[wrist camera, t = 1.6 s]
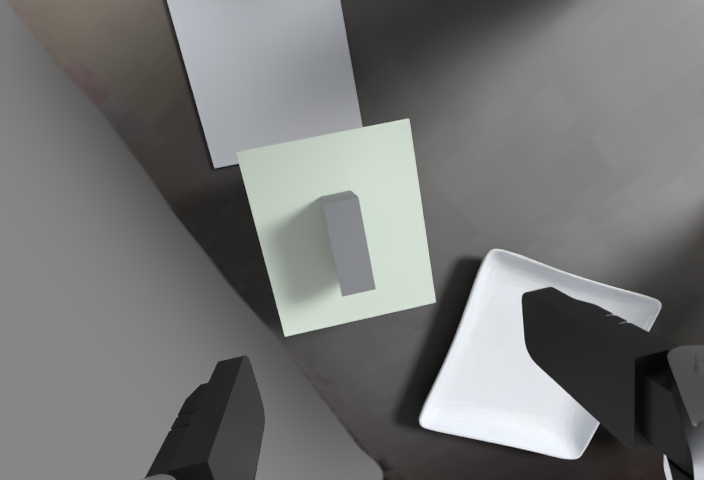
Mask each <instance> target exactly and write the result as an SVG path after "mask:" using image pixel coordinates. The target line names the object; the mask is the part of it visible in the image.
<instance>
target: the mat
mask: <svg viewBox="0 0 704 480" xmlns="http://www.w3.org/2000/svg"><path fill="white" fill-rule="evenodd" d="M167 3H168V6H169V10H170V13H171V17H172V20H173V24H174V27H175V31H176V34H177V38H178V42H179V45H180V49H181V52H182V56H183V59H184V63H185V66H186V70H187V73H188V77H189V80H190V84H191V87H192V91H193V95H194V98H195V102H196V105H197V109H198V112H199V116H200V119H201V123H202V126H203V130H204V133H205V137H206V140H207V144H208V148H209V151H210V155H211V158H212V162H213V165H214V168H219V167H224V166H229V165H235V164H239V162H238V158H237V154H236V152H239V151H244V150H249V149H254V148H259V147H265V146H270V145H275V144H280V143H285V142H290V141H295V140H301V139H306V138H311V137H316V136H321V135H326V134H331V133H336V132H342V131H347V130H352V129H357V128H362V127H363V126H362V121H361V115H360V109H359V104H358V98H357V92H356V87H355V81H354V75H353V70H352V64H351V58H350V53H349V47H348V41H347V36H346V30H345V24H344V19H343V13H342V7H341V2H340V0H167Z"/></svg>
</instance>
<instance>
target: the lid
mask: <svg viewBox="0 0 704 480" xmlns="http://www.w3.org/2000/svg"><path fill="white" fill-rule="evenodd" d="M236 154H237V158H238V162H239V166H240V169H241V173H242V177H243V181H244V184H245V188H246V192H247V196H248V199H249V203H250V207H251V211H252V215H253V218H254V222H255V226H256V230H257V233H258V237H259V241H260V245H261V248H262V252H263V256H264V260H265V264H266V267H267V271H268V275H269V279H270V282H271V286H272V290H273V294H274V297H275V301H276V305H277V309H278V313H279V316H280V320H281V324H282V328H283V331H284V335H285V337H286V336H290V335H295V334H299V333H304V332H308V331H312V330H317V329H321V328H326V327H330V326H334V325H339V324H343V323H348V322H352V321H356V320H361V319H365V318H370V317H374V316H378V315H383V314H387V313H392V312H396V311H400V310H405V309H409V308H414V307H418V306H422V305H427V304H431V303H435V302H436V300H435V293H434V286H433V279H432V272H431V265H430V259H429V252H428V245H427V238H426V231H425V224H424V217H423V210H422V203H421V196H420V189H419V182H418V175H417V168H416V162H415V155H414V148H413V141H412V134H411V127H410V120H409V118H408V119H403V120H398V121H393V122H388V123H383V124H377V125H372V126H367V127H362V128H357V129H352V130H347V131H342V132H336V133H331V134H326V135H321V136H316V137H311V138H306V139H301V140H295V141H290V142H285V143H280V144H275V145H270V146H265V147H259V148H254V149H249V150H244V151H239V152H236Z"/></svg>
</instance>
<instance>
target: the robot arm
mask: <svg viewBox="0 0 704 480" xmlns="http://www.w3.org/2000/svg"><path fill="white" fill-rule="evenodd" d="M522 315H523V328H524V340H525V345H526V349H527V351H528V353H529V355H530V357H531V359H532V360H533V361H534V362H535V363H536V364H537V365H538V366H539V367H540V368H541V369H542V370H543V371H544V372H545V373H546V374H547V375H549V376H550V377H551V378H552V379H553V380H554V381H555V382H556V383H557V384H558V385H559V386H560V387H562V388H563V389H564V390H565V391H566V392H567V393H568V394H569V395H570V396H571V397H572V398H573V399H574V400H576V401H577V402H578V403H579V404H580V405H581V406H582V407H583V408H584V409H585V410H586V411H587V412H589V413H590V414H591V415H592V416H593V417H594V418H595V419H596V420H597V421H598V422H599V423H600V424H602V425H603V426H604V427H605V428H606V429H607V430H608V431H609V432H610V433H611V434H612V435H613V436H615V437H616V438H617V439H618V440H619V441H620V442H621V443H622V444H623V445H624V446H625V447H626V448H628V449H629V450H630V451H631V452H632V453H633V454H638V453H641V452H645V451H649V450H653V449H657V448H658V449H659V450H660V451H661V452H662V453H664V471H665V475H666V479H667V480H704V345H686V346H680V347H677V346H675V345H673V344H671V343H669V342H667V341H665V340H663V339H661V338H659V337H657V336H655V335H653V334H652V333H650V332H648V331H646V330H644V329H642V328H640V327H638V326H636V325H634V324H632V323H628V322H627V320H625V319H623V318H621V317H619V316H617V315H613V313H611V312H609V311H607V310H605V309H603V308H602V307H600V306H598V305H596V304H592V303H588V302H585V301H581V300H577V299H574V298H572V297H570V296H568V295H567V294H565V293H563V292H561V291H559V290H557V289H555V288H553V287H546V288H542V289H538V290H533V291H529V292H525V293H524V294H523V295H522ZM264 424H265V416H264V408H263V403H262V399H261V396H260V392H259V389H258V386H257V382H256V379H255V376H254V372H253V369H252V365H251V363H250V360H249V358H248V357H247V356H241V357H237V358H232V359H228V360H224V361H220V362H218V364H217V365H216V367H215V369H214V372H213V374H212V376H211V379H210V380H209V382H208V383H206V384H201V385H200V386H199V387H198V388H197V389H196V390H195V391H194V392H193V393H192V394H191V395H190V396H189V397H188V398H187V399H186V400H185V402H184V404H183V406H182V408H181V410H180V412H179V414H178V418H176V420H175V422H174V424H173V425H172V427H171V431H169V433H168V435H167V437H166V439H165V441H164V443H163V445H162V446H161V449H160V450H159V452H158V454H157V456H156V458H155V460H154V462H153V464H152V466H151V468H150V470H149V471H148V474H147V475H146V477H145V479H142V480H255V476H256V471H257V465H258V459H259V454H260V448H261V442H262V437H263V431H264Z"/></svg>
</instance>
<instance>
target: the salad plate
mask: <svg viewBox="0 0 704 480" xmlns="http://www.w3.org/2000/svg"><path fill="white" fill-rule="evenodd" d="M546 287H553V288H555V289H557V290H559V291H561V292H563V293H565V294H567V295H568V296H570V297H572V298H574V299H577V300H581V301H585V302H588V303H592V304H596V305H598V306H600V307H602V308H603V309H605V310H607V311H609V312H611V313H613V315H617V316H619V317H621V318H623V319H625V320H627V322H628V323H632V324H634V325H636V326H638V327H640V328H642V329H644V330H646V331H648V332H649V331H650V329H651V327H652V325H653V323H654V321H655V320H656V318H657V316H658V314H659V312H660V310H661V307H662V304H661V303H660V301H659V300H657V299H655V298H652V297H649V296H646V295H643V294H639V293H635V292H632V291H628V290H624V289H620V288H617V287H613V286H610V285H606V284H603V283H599V282H596V281H592V280H589V279H586V278H583V277H579V276H576V275H573V274H570V273H567V272H564V271H561V270H559V269H556V268H553V267H550V266H548V265H545V264H543V263H540V262H537V261H535V260H532V259H530V258H527V257H525V256H522V255H519V254H516V253H512V252H509V251H506V250H502V249H492V250H490V251H488V252H487V253H486V255H485V256H484V258H483V260H482V263H481V265H480V268H479V270H478V272H477V275H476V278H475V281H474V283H473V286H472V289H471V292H470V295H469V298H468V301H467V304H466V307H465V309H464V312H463V315H462V318H461V321H460V323H459V326H458V329H457V331H456V334H455V336H454V339H453V341H452V344H451V346H450V348H449V351H448V353H447V355H446V358H445V360H444V362H443V364H442V366H441V369H440V371H439V373H438V375H437V377H436V379H435V382H434V384H433V386H432V388H431V390H430V392H429V394H428V396H427V398H426V400H425V402H424V405H423V407H422V410H421V412H420V415H419V424H420V425H421V426H422V427H423V428H426V429H429V430H433V431H437V432H442V433H446V434H452V435H457V436H461V437H467V438H471V439H476V440H481V441H486V442H491V443H496V444H501V445H505V446H510V447H515V448H519V449H524V450H528V451H533V452H537V453H541V454H545V455H549V456H554V457H558V458H563V459H577V458H579V457H581V455H582V454H583V452H584V451H585V449H586V447H587V446H588V444H589V442H590V440H591V439H592V437H593V435H594V433H595V431H596V429H597V427H598V425H599V424H600V423H599V422H598V421H597V420H596V419H595V418H594V417H593V416H592V415H591V414H590V413H589V412H587V411H586V410H585V409H584V408H583V407H582V406H581V405H580V404H579V403H578V402H577V401H576V400H574V399H573V398H572V397H571V396H570V395H569V394H568V393H567V392H566V391H565V390H564V389H563V388H562V387H560V386H559V385H558V384H557V383H556V382H555V381H554V380H553V379H552V378H551V377H550V376H549V375H547V374H546V373H545V372H544V371H543V370H542V369H541V368H540V367H539V366H538V365H537V364H536V363H535V362H534V361H533V360H532V359H531V357H530V355H529V353H528V351H527V349H526V345H525V340H524V328H523V315H522V295H523V294H524V293H525V292H529V291H533V290H538V289H542V288H546Z"/></svg>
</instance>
